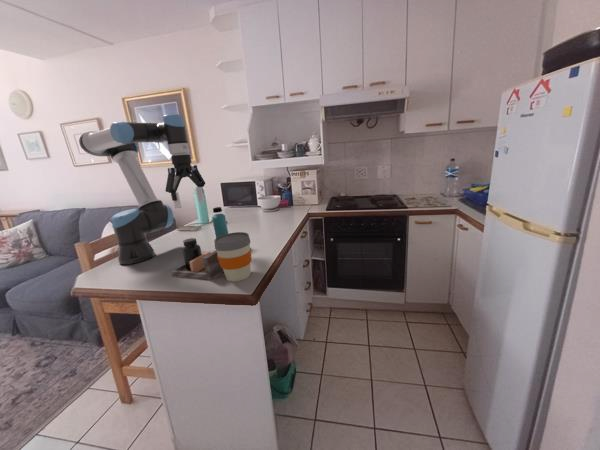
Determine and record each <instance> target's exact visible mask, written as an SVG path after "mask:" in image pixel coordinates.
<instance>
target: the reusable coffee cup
mask: <svg viewBox="0 0 600 450" xmlns="http://www.w3.org/2000/svg"><path fill="white" fill-rule="evenodd" d="M228 233H229V232H228ZM214 249H215V251H216V250H217V253H218V255H217V257H218V260H219V263H220V266H221V268H223V273H224V277H225V278H226V281H229V282H240V281H243V280H245V279H248V278H249V277H250V276H251V274H252V273H251V263H252V248H251V238H250V236H249V233H247V232H242V231H239V232H238V231H236V232H230V233H229V234H225V235H222V236H219V237H217V238H216V237H215V238H214Z"/></svg>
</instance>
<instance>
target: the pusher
mask: <svg viewBox="0 0 600 450" xmlns="http://www.w3.org/2000/svg"><path fill="white" fill-rule="evenodd" d="M210 253H212V252H211V251H210V250H208V251H206V252H205V253H204V252H203V254H202V255H200V256H199V257H197V258H195V259H193V260H192V261H190V262H189V263H190V268H191V272H198V271H200V270H202V269H203V268H205V266H204V261H203V258H204V257H205V256H207V255H209V254H210Z"/></svg>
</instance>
